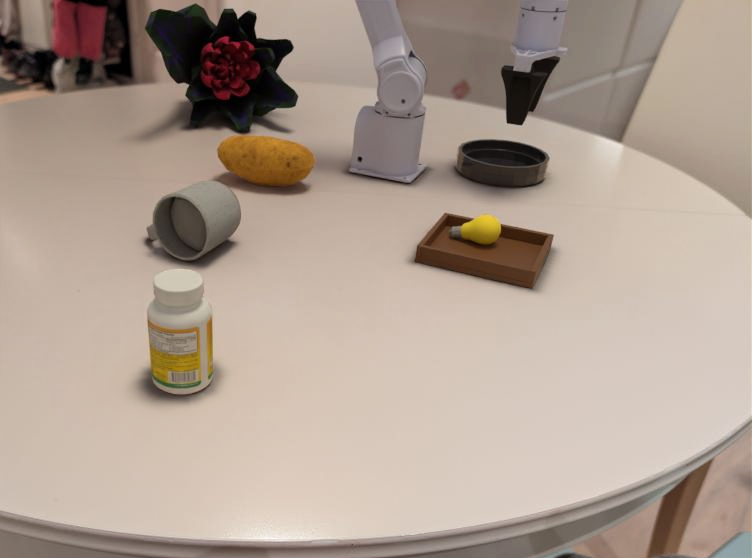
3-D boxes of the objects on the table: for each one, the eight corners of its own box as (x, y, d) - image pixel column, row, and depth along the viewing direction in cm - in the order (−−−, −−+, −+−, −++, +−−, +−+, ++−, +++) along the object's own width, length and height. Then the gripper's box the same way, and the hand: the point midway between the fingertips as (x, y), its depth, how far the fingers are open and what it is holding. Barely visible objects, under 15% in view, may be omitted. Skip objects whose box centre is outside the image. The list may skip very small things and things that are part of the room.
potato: (298, 200, 99) (301, 150, 96) (209, 183, 104) (208, 134, 100) (320, 182, 105) (323, 135, 101) (235, 166, 110) (234, 120, 106)
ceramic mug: (246, 241, 88) (245, 178, 84) (209, 268, 82) (206, 201, 78) (172, 224, 92) (167, 163, 88) (132, 248, 86) (125, 184, 82)
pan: (444, 177, 108) (447, 157, 107) (467, 153, 118) (471, 134, 116) (535, 194, 103) (540, 173, 102) (551, 167, 113) (556, 148, 111)
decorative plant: (261, 156, 143) (279, 166, 114) (133, 98, 137) (119, 94, 109) (305, 50, 137) (336, 33, 109) (174, -15, 132) (170, -50, 103)
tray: (414, 261, 85) (416, 245, 84) (442, 227, 93) (444, 212, 92) (531, 288, 80) (535, 272, 79) (550, 250, 88) (554, 234, 87)
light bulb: (501, 249, 86) (496, 225, 84) (450, 253, 89) (444, 230, 87) (505, 231, 88) (500, 207, 86) (454, 235, 91) (449, 212, 89)
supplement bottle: (182, 404, 61) (176, 303, 56) (138, 379, 64) (129, 280, 59) (226, 376, 65) (225, 278, 59) (183, 354, 68) (178, 258, 62)
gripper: (566, 19, 87) (540, 135, 95) (584, 4, 98) (559, 109, 106) (506, 14, 90) (485, 126, 97) (529, -1, 101) (509, 102, 108)
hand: (520, 117), depth 102 cm, fingers open, 7 cm apart
